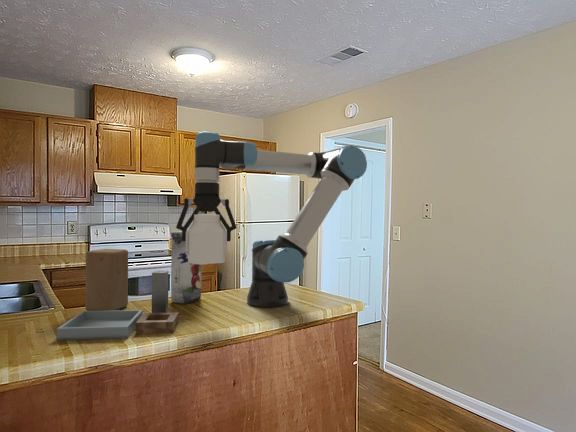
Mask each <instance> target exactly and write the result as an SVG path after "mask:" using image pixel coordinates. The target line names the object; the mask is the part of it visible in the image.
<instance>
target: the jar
mask: <svg viewBox="0 0 576 432" xmlns="http://www.w3.org/2000/svg"><path fill="white" fill-rule="evenodd" d="M219 217H220V215H216V213H215V214H213V213H209V214H208V213H198V214H194V220H193V221H192V223H191V224H190V226H189V227H188V229H189V230H188V234H189V237H188V263H191V264H201V265H210V264H211V265H212V264H223V263H225V262H226V252H224V241H225V231H227V230H226V228H225V227H224V225H223V224H222V222H221V221H220V218H219Z"/></svg>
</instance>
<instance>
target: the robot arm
mask: <svg viewBox="0 0 576 432" xmlns="http://www.w3.org/2000/svg"><path fill="white" fill-rule="evenodd" d="M220 168H222V169H224V170H244V171H245V170H246V171H257V172H270V173H271V172H272V173H284V174H295V175H306V177H307V178H310V179H311V178H312V179H319V181H318V183H317V184H316V186H315V188H314V189H313V191H312V192H311V194H310V195H309V197H308V198H307V200H306V201H305V203H304V205H303V206H302V208H301V209H300V211H299V212H298V214H297V215H296V216H295V219H294V220H293V222H292V223H291V224H290V226H288V227H289V228H288V229H287V231H286V232H285V233H284V234H279V235H278V236H277V238H276V239H268V240H266V239H265V240H263V239H262V240H256V241H254V242H253V243H252V248H251V252H252V253H251V254H252V255H251V257H252V260H251V263H252V264H251V266H252V267H251V268H252V269H251V284H250V287H249V290H248V293H247V296H246V303H247V304H248V305H250V306H253V307H256V308H257V307H259V308H277V307H282V306H285V305H287V304H288V303H289V296H288V292H287V289H286V286H285V284H286V283H291V282H293V281H296V280H297V279H298V278H299V277H301V274H302V273H303V272H304V269H305V259H306V257H307V255H308V246H309V244H310V242H311V241H312V239H313V238H314V235H316V233H317V231H318V230H319V228H320V227H321V225H322V224H323V222H324V221H325V218H326V217H327V216H328V214H329V212H330V211H331V210H332V208H333V207H334V204H335V203H336V202H337V200H338V198H339V197H340V195H341V193H342V192H344V191H349V189H350V187H351V186H352V184H353V183H354V182H355V180H357V179H360V178H362V177H363V176H364V175H365V173H366V171H367V168H368V161H367V157H366V154H365V153H364V152H363V150H362V149H360V147H357V146H355V145H344V146H342V147H339V148H335V149H331V150H328V151H322V152H313V151H311V152H309V153H307V154H304V153H296V152H295V153H294V152H285V151H275V150H274V151H273V150H264V149H258V148H257V144H255V143H254V142H249V141H236V140H223V139H221V135H220V134H219V133H218V132H213V131H201V132H198V133H197V134H195V145H194V181H195V183H194V197H193V198H184V202H183V207H182V211H181V213H180V216H179V218H178V221H177V223H176V227H175V228H176V229H177V230H180V231H181V232H182V241H186V252H188V237H189V234H188V231H187V229H189V228H190V227H191V225H192V224H193V222H194V214H200V212H202V213H206V212H207V213H213V212H214V213H215V214H216V215H220V217H219V218H220V222H221V224H222V225H223V227H224V228H225V230H226V231H225V241H224V252H225V253H228V242H231V238H232V237H231V236H232V231H233V230H236V229H237V224H236V221H235V219H234V216H233V214H232V210H231V208H230V199H228V198H225V199H223V198H222V199H221V198H220V184H219V182H220ZM192 204H194V205H195V207H196V208H195V209H194V210H193V212H192V214H191V215H190V217H189V218H188V219H187V220H186V223H184V221H185V218H186V215H187V213H188V210H189V208H190V206H191V205H192ZM220 204H222V206H223V207H225V210H226V212H227V216H228V218H229V222H230V225H231V226H230V225H229V224H228V222H227V220H226V219H225V218H224V216H223V214H222V213H221V212H220V210H219V209H218V206H219V205H220ZM183 223H184V225H183Z"/></svg>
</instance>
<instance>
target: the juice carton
mask: <svg viewBox="0 0 576 432" xmlns="http://www.w3.org/2000/svg"><path fill="white" fill-rule="evenodd" d="M188 230H189V228H188V229H187V231H188ZM170 239H171V249H170V250H171V254H170V255H171V258H170V259H171V263H170V264H171V265H170V266H171V268H170V269H171V270H170V271H171V272H170V274H171V275H170V276H171V277H170V279H171V280H170V281H171V282H170V284H171V285H170V299H171V302H172V303H178V304H186V305H187V304H191V303H193V302H196V301H199V300H201V297H202V264H191V263H188V252H186V241H182V231H181V232H177V231H175V232H170Z"/></svg>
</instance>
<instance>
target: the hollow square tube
mask: <svg viewBox="0 0 576 432" xmlns="http://www.w3.org/2000/svg"><path fill="white" fill-rule="evenodd" d="M178 323H179V312H168V313H152V312H143V315H142V316H141V317H140V318H139V320H138V321H137V322H136V328H135V334H164V333H165V334H166V333H169V334H170V333H174V332H175V330H176V327H177V326H178Z"/></svg>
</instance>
